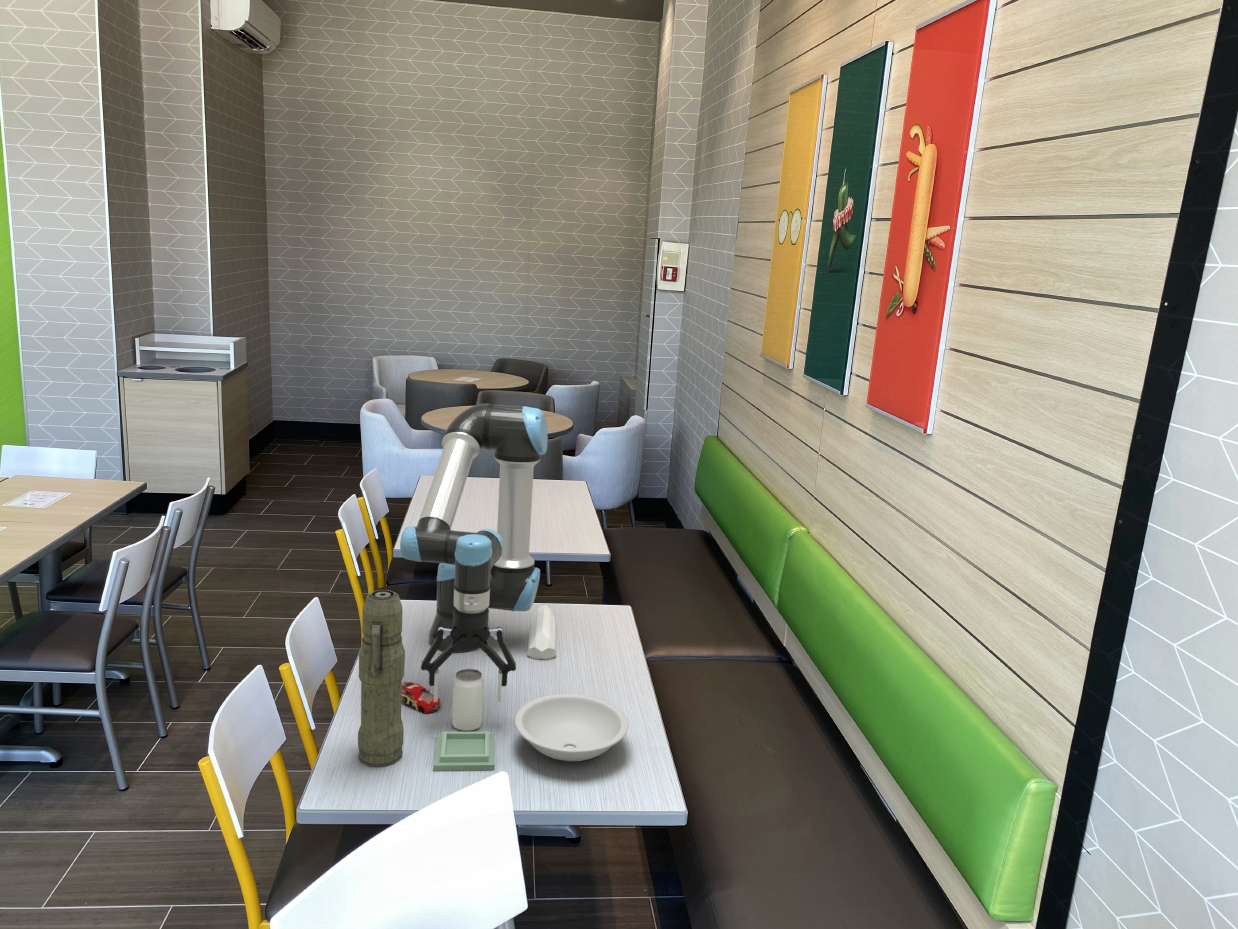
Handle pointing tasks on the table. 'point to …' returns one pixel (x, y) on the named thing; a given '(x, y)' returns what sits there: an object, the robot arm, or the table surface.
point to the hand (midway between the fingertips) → (467, 699)
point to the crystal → (542, 634)
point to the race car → (418, 698)
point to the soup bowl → (571, 725)
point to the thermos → (381, 680)
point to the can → (467, 700)
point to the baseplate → (464, 751)
